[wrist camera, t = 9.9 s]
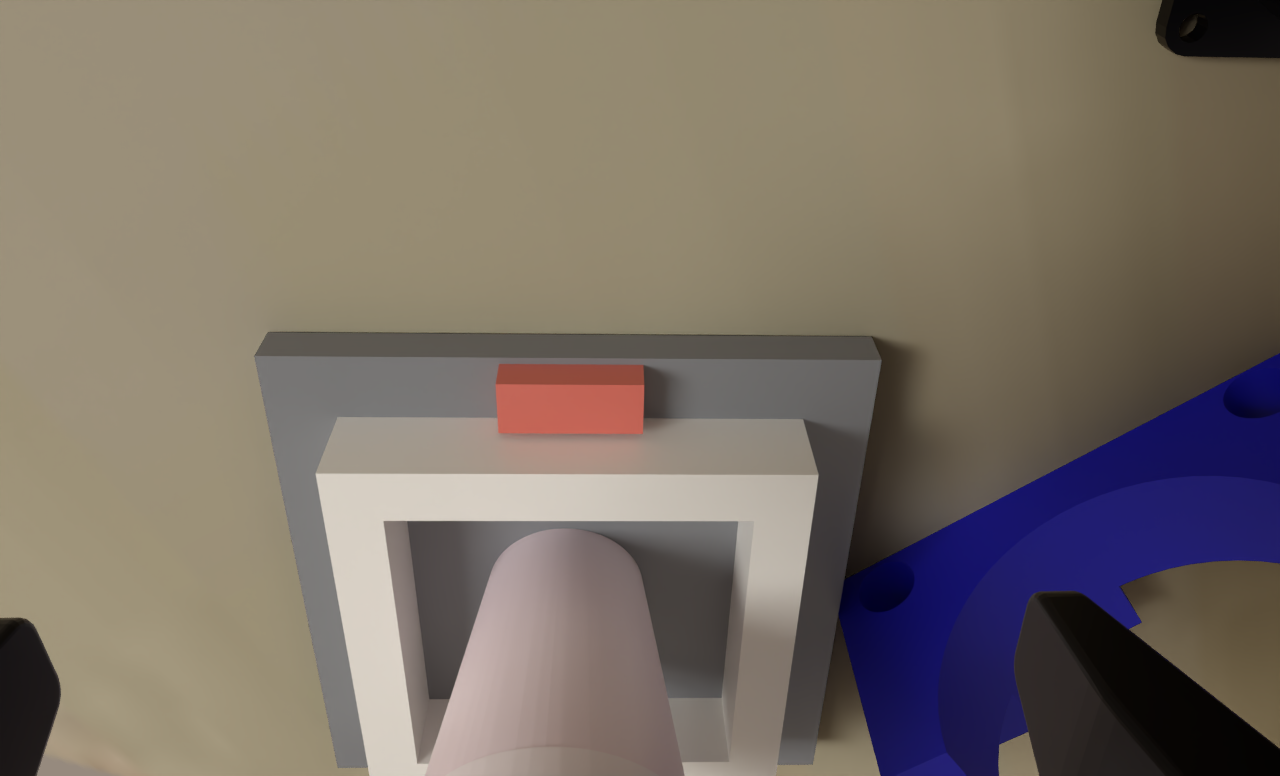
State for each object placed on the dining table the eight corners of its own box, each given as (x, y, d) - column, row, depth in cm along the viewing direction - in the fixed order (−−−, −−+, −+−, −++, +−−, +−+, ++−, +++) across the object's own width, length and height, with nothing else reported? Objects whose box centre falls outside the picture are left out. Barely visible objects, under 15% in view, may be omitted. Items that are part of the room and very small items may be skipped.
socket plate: (871, 336, 23) (904, 412, 20) (807, 734, 30) (825, 828, 27) (267, 332, 22) (224, 409, 20) (345, 737, 29) (320, 833, 27)
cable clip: (911, 678, 29) (977, 881, 24) (829, 582, 27) (881, 781, 22) (1350, 468, 25) (1536, 654, 20) (1293, 339, 23) (1485, 509, 18)
